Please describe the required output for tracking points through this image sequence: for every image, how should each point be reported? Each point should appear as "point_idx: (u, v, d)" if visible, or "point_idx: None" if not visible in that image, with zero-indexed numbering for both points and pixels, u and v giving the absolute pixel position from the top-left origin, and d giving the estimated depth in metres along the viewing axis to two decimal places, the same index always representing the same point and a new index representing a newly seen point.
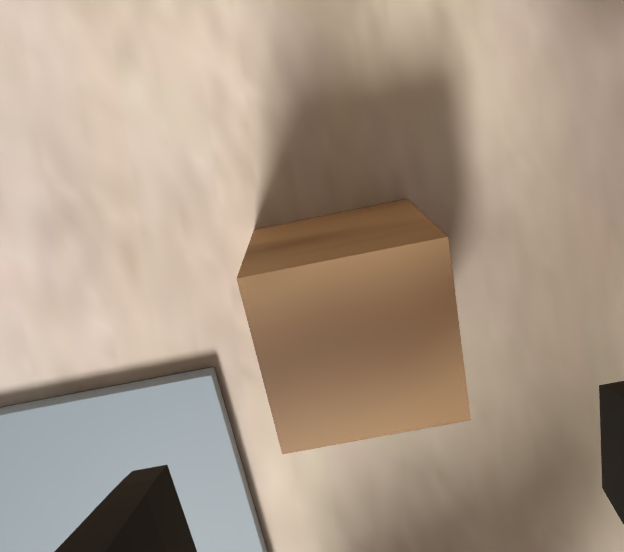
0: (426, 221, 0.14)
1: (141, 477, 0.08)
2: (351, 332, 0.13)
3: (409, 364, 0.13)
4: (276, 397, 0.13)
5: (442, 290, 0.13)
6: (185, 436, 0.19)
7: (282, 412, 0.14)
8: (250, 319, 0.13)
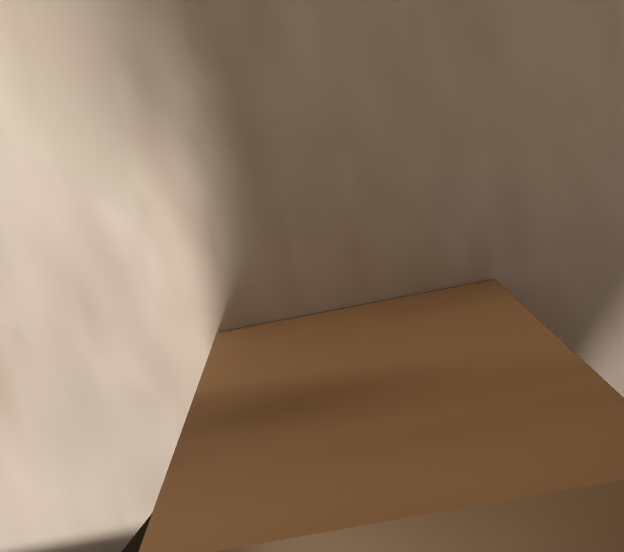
0: (583, 371, 0.06)
1: None
2: None
3: None
4: None
5: None
6: None
7: None
8: None
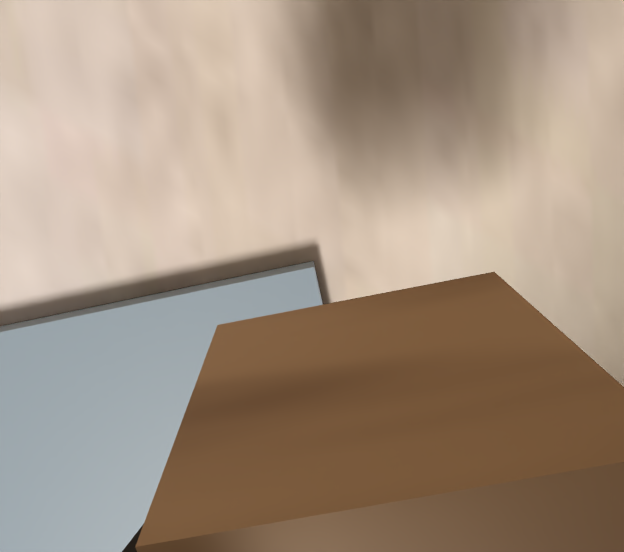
0: (581, 359, 0.06)
1: None
2: None
3: None
4: None
5: None
6: None
7: None
8: None
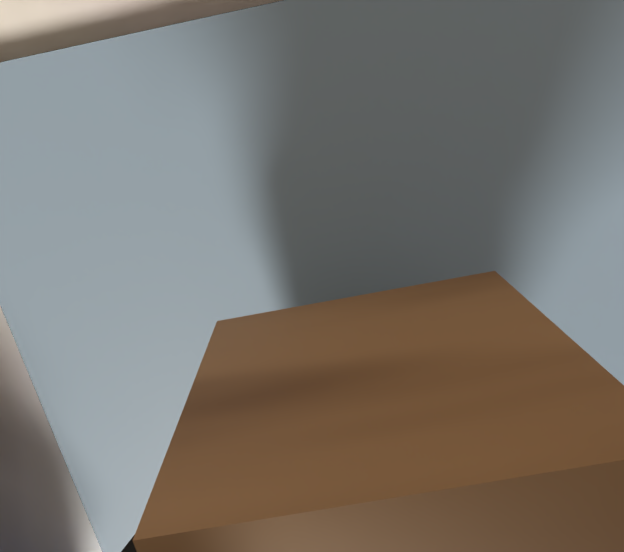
0: (581, 358, 0.06)
1: None
2: None
3: None
4: None
5: None
6: None
7: None
8: None
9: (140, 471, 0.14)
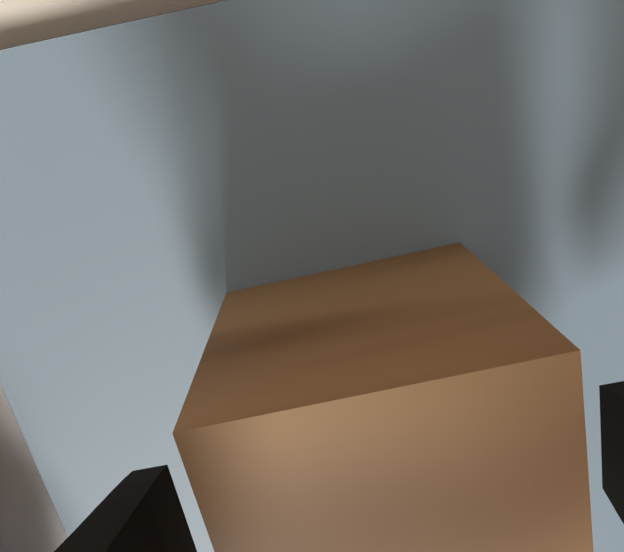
0: (514, 300, 0.08)
1: (141, 477, 0.08)
2: (390, 518, 0.07)
3: None
4: None
5: (563, 444, 0.07)
6: None
7: None
8: (202, 501, 0.07)
9: None
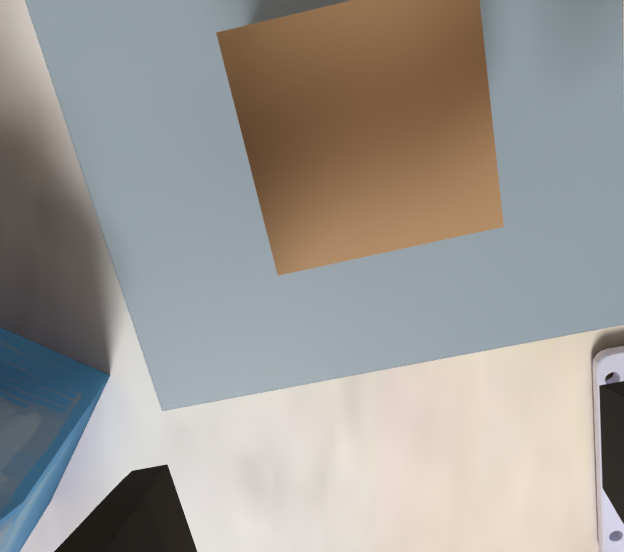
0: None
1: (141, 477, 0.08)
2: (358, 107, 0.11)
3: (429, 152, 0.11)
4: (268, 198, 0.11)
5: (469, 47, 0.10)
6: None
7: (276, 219, 0.11)
8: (234, 90, 0.10)
9: (163, 237, 0.16)
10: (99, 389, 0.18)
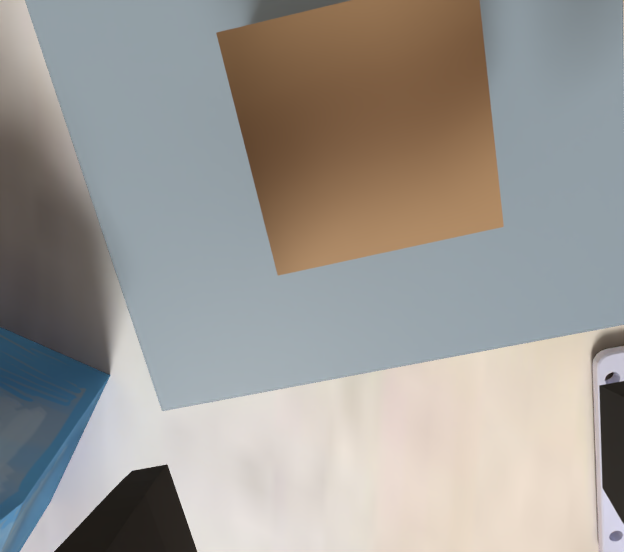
0: None
1: (141, 477, 0.08)
2: (358, 107, 0.11)
3: (429, 152, 0.11)
4: (268, 198, 0.11)
5: (469, 47, 0.10)
6: None
7: (276, 219, 0.11)
8: (234, 90, 0.10)
9: (163, 237, 0.16)
10: (99, 389, 0.18)
